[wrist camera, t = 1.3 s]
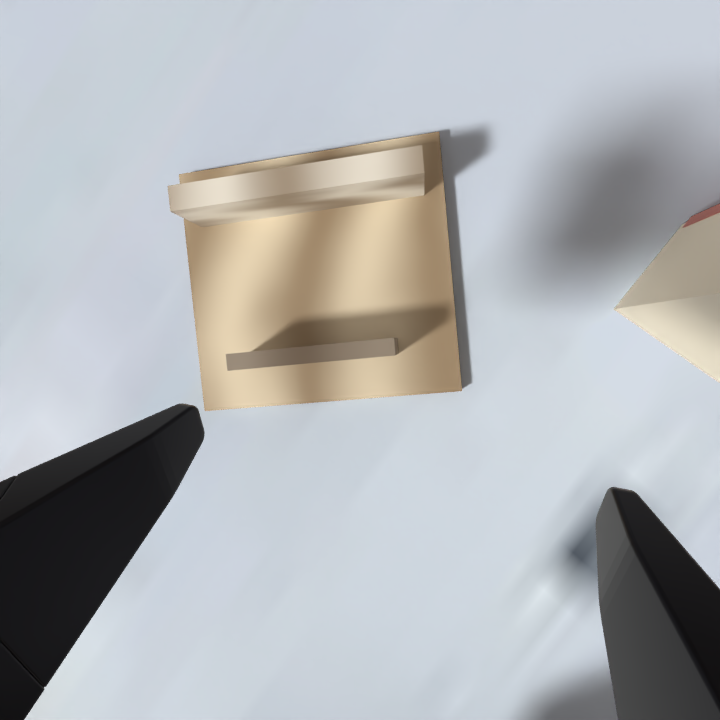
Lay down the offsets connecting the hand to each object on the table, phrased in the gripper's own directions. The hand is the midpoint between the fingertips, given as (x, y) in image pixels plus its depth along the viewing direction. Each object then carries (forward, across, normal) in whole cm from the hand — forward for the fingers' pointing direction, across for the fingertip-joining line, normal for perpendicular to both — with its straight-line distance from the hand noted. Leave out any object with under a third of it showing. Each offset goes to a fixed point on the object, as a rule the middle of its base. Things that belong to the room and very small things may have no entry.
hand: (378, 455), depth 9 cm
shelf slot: (+14, +7, +2) cm, 16 cm away
